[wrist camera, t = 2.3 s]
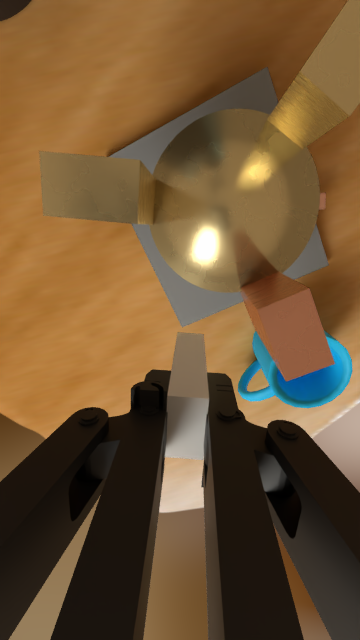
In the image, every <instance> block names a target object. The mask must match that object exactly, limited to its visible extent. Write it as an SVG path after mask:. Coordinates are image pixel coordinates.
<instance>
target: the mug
mask: <svg viewBox="0 0 360 640" xmlns="http://www.w3.org/2000/svg"><path fill="white" fill-rule="evenodd" d="M324 333H325V336H326V339H327V342H328V345H329V348H330V351H331V353H332V356H333V359H334V362H335V364H333V365H330V366H328V367H325V368H322V369H319V370H317V371H314V372H311V373H308V374H306V375H303V376H300V377H297V378H295V379H292V380H289V381H285V379H284V378H283V376H282V374H281V372H280V371H279V369H278V367H277V366H276V364H275V362H274V361H273V359H272V357H271V356H270V354H269V352H268V350H267V349H266V347H265V345H264V344H263V342H262V340H261V339H260V337H259V335H258V334H257V332H256V331H255V333H254V337H253V343H252V344H253V350H254V354H255V356H256V358H257V360H256V361H254V362H253V363H252V364H251V365H250V366H249V367H248V368H247V369H246V371H245V372H244V374H243V375H242V376H241V379H240V381H239V383H238V392H239V394H240V395H241V396H242V398H243V399H246V400H249V401H261V400H264V399H267V398H270V397H272V396H274V395H276V396H277V397H278V398H279V399H280V400H282V401H283V402H284V403H286V404H289V405H291V406H294V407H301V408H311V407H317V406H321V405H323V404H326V403H328V402H330V401H332V400H333V399H335V398H336V397H337V396H338V395H340V394H341V393H342V392H343V390H344V389H345V387H346V386H347V385H348V383H349V381H350V377H351V374H352V359H351V357H350V355H349V353H348V351H347V349H346V348H345V347H344V346H342V345H341V344H340V343H339V342H338V341H337V340H336V339H334V338H333V337H332V336H331V335H329V334H328V333H327V332H326V331H324ZM261 368H262V370H263V373H264V375H265V377H266V379H267V381H268V383H269V385H270V386H268V387H266V388H264V389H261V390H259V391H254V392H248V391H247V386H248V383H249V381H250V380H251V378H252V377H253V376H254V375H255V373H256V372H257V371H258V370H259V369H261Z"/></svg>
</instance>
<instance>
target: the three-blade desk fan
mask: <svg viewBox="0 0 360 640" xmlns="http://www.w3.org/2000/svg"><path fill="white" fill-rule="evenodd" d="M359 103H360V0H348V1H347V3H346V4H345V6H344V7H343V8H342V10H341V11H340V13H339V14H338V16H337V17H336V19H335V20H334V22H333V23H332V25H331V26H330V27H329V29H328V30H327V32H326V33H325V35H324V36H323V38H322V39H321V41H320V42H319V44H318V45H317V46H316V48H315V49H314V51H313V52H312V54H311V55H310V57H309V58H308V60H307V61H306V63H305V64H304V65H303V67H302V68H301V70H300V71H299V73H298V74H297V76H296V77H295V79H294V80H293V82H292V83H291V85H290V86H289V88H288V89H287V91H286V92H285V93H284V95H283V96H282V98H281V99H280V101H279V102H278V104H277V105H276V107H275V108H274V110H273V111H272V113H271V114H270V115H269V114H266V113H263V112H260V111H257V110H251V109H227V110H220V111H217V112H214V113H211V114H208V115H206V116H204V117H201V118H199V119H197V120H196V121H194V122H193V123H191V124H190V125H188V126H186V127H185V128H184V129H183V130H182V131H181V132H180V133H178V134H177V135H176V136H175V138H174V139H173V140H172V141H171V142H170V143H169V144H168V146H167V147H166V149H165V150H164V152H163V153H162V155H161V156H160V158H159V160H158V162H157V164H156V166H155V169H154V172H153V175H152V174H151V173H150V172H149V170H148V169H147V168H146V167H145V165H144V164H143V163H142V162H141V160H136V159H125V158H113V157H102V156H90V155H79V154H67V153H56V152H44V151H39V154H40V170H41V186H42V202H43V216H54V217H65V218H76V219H87V220H98V221H109V222H120V223H131V224H149V227H150V230H151V234H152V237H153V240H154V242H155V245H156V247H157V249H158V251H159V252H160V254H161V256H162V257H163V259H164V260H165V261H166V263H167V264H168V265H169V266H170V267H171V268H172V269H173V270H174V271H175V272H176V273H177V274H178V275H179V276H181V277H182V278H183V279H185V280H186V281H188V282H190V283H191V284H193V285H196V286H198V287H200V288H203V289H206V290H210V291H215V292H224V293H233V292H240V294H241V296H242V298H243V301H244V303H245V306H246V308H247V311H248V313H249V315H250V318H251V320H252V323H253V325H254V328H255V330H256V332H257V334H258V335H259V337H260V339H261V340H262V342H263V344H264V345H265V347H266V349H267V350H268V352H269V354H270V356H271V357H272V359H273V361H274V362H275V364H276V366H277V367H278V369H279V371H280V372H281V374H282V376H283V378H284V379H285V381H289V380H292V379H295V378H297V377H300V376H303V375H306V374H308V373H311V372H314V371H317V370H319V369H322V368H325V367H328V366H330V365H333V364H335V362H334V359H333V356H332V353H331V351H330V348H329V345H328V342H327V339H326V336H325V333H324V330H323V327H322V324H321V321H320V318H319V315H318V312H317V309H316V306H315V303H314V300H313V297H312V294H311V291H310V288H308V287H306V286H304V285H302V284H301V283H299V282H297V281H295V280H293V279H291V278H290V277H288V276H286V275H284V274H282V273H283V272H284V271H286V270H287V269H288V268H289V267H290V266H291V265H292V264H293V263H294V262H295V261H296V260H297V258H298V257H299V256H300V254H301V253H302V252H303V250H304V248H305V247H306V245H307V243H308V241H309V240H310V237H311V235H312V233H313V230H314V228H315V224H316V221H317V217H318V211H319V205H320V187H319V178H318V174H317V169H316V166H315V164H314V161H313V158H312V156H311V154H310V152H309V150H308V148H307V146H308V145H309V144H311V143H312V142H314V141H315V140H317V139H318V138H319V137H321V136H322V135H324V134H325V133H327V132H328V131H329V130H331V129H332V128H334V127H335V126H336V125H338V124H339V123H341V122H342V121H344V120H345V119H346V118H348V117H349V116H350V115H351V114H352V113H353V111H354V110H355V109H356V107H357V106H358V105H359Z"/></svg>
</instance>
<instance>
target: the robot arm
mask: <svg viewBox="0 0 360 640" xmlns="http://www.w3.org/2000/svg"><path fill="white" fill-rule="evenodd" d="M30 1H31V0H0V21H3V20H5V19H8V18H10V17H12V16H14V15H15V14H17V13H18V12H20V11H21V10H22V9H23V8H25V7H26V6H27V5H28V4H29V2H30ZM165 457H172V458H184V459H197V460H203V458H204V466H203V476H202V487H204V517H205V547H206V578H207V610H208V639H209V640H304V639H303V635H302V631H301V627H300V624H299V620H298V616H297V612H296V609H295V605H294V601H293V597H292V594H291V590H290V586H289V582H288V578H287V574H286V571H285V567H284V564H283V559H282V556H281V552H280V548H279V545H278V540H277V537H276V533H275V529H274V526H275V528H276V530H277V532H278V534H279V536H280V538H281V540H282V542H283V544H284V546H285V548H286V549H287V552H288V554H289V555H290V558H291V559H292V562H293V563H294V566H295V567H296V569H297V571H298V573H299V575H300V577H301V579H302V581H303V583H304V585H305V587H306V589H307V591H308V593H309V595H310V597H311V599H312V601H313V603H314V605H315V607H316V609H317V611H318V613H319V615H320V617H321V619H322V621H323V623H324V625H325V627H326V629H327V631H328V633H329V635H330V637H331V639H332V640H360V493H359V492H358V490H357V489H356V488H355V487H354V486H353V485H352V483H351V482H350V481H349V480H348V479H347V478H346V477H345V476H344V474H343V473H342V472H341V471H340V470H339V469H338V468H337V467H336V465H335V464H334V463H333V462H332V461H331V460H330V459H329V458H328V456H327V455H326V454H325V453H324V452H323V451H322V450H321V448H320V447H319V446H318V445H317V444H316V443H315V442H314V441H313V439H312V438H311V437H310V436H309V435H308V434H307V433H306V432H305V430H303V429H302V428H301V427H300V426H298V425H296V424H294V423H292V422H289V421H285V420H275V421H272V422H270V423H269V424H268V427H267V428H264V427H261V426H257V425H254V424H252V423H250V422H248V421H246V419H245V416H244V414H243V413H242V412H241V411H240V410H239V409H238V406H237V402H236V398H235V394H234V390H233V386H232V381H231V379H230V378H229V377H228V376H227V375H226V374H222V373H207V368H206V357H205V345H204V334H194V333H179V332H178V333H177V339H176V345H175V352H174V358H173V364H172V370H171V371H167V370H151V371H150V372H149V373H148V374H146V377H145V380H144V381H143V382H139V383H137V384H135V385H134V386H133V387H132V388H131V410H130V412H129V413H127V414H124V415H120V416H115V417H108V413H107V412H106V411H105V410H103V409H101V408H96V407H90V408H84V409H81V410H79V411H77V412H75V413H74V414H73V415H71V416H70V417H69V418H68V419H67V420H66V421H65V422H64V423H63V424H62V425H61V426H60V427H59V428H58V429H56V430H55V431H54V432H53V433H52V434H51V435H50V436H49V437H48V438H47V439H46V440H45V441H44V442H43V443H41V444H40V445H39V446H38V447H37V448H36V449H35V450H34V451H33V452H32V453H31V454H30V455H29V456H28V457H26V458H25V459H24V460H23V461H22V462H21V463H20V464H19V465H18V466H17V467H16V468H15V469H14V470H12V471H11V472H10V473H9V474H8V475H7V476H6V477H5V478H4V479H3V480H2V481H1V482H0V640H8V639H9V638H10V636H11V635H12V633H13V632H14V630H15V629H16V627H17V625H18V624H19V622H20V621H21V619H22V617H23V616H24V614H25V613H26V611H27V610H28V608H29V607H30V605H31V603H32V602H33V600H34V598H35V597H36V595H37V594H38V592H39V591H40V589H41V588H42V586H43V584H44V583H45V581H46V580H47V578H48V577H49V575H50V573H51V572H52V570H53V568H54V567H55V566H56V564H57V562H58V561H59V559H60V558H61V556H62V554H63V553H64V551H65V550H66V548H67V547H68V545H69V544H70V542H71V540H72V539H73V537H74V536H75V534H76V532H77V531H78V529H79V528H80V526H81V525H82V523H83V522H84V520H85V518H86V517H87V515H88V514H89V512H90V511H91V509H92V507H93V506H94V504H95V503H96V501H97V500H98V498H99V496H100V495H101V496H100V499H99V502H98V504H97V507H96V510H95V513H94V516H93V519H92V522H91V524H90V527H89V530H88V533H87V536H86V539H85V542H84V545H83V547H82V550H81V553H80V556H79V559H78V562H77V565H76V568H75V570H74V573H73V576H72V579H71V582H70V585H69V588H68V590H67V593H66V596H65V599H64V602H63V605H62V608H61V611H60V613H59V616H58V619H57V622H56V625H55V628H54V631H53V634H52V636H51V640H143V636H144V628H145V620H146V612H147V603H148V595H149V587H150V579H151V571H152V563H153V555H154V546H155V538H156V530H157V522H158V514H159V506H160V498H161V490H162V482H163V473H164V460H165ZM273 524H274V525H273Z"/></svg>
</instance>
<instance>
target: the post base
mask: <svg viewBox="0 0 360 640" xmlns="http://www.w3.org/2000/svg"><path fill="white" fill-rule="evenodd" d="M277 104H278V99H277V96H276V93H275V90H274V87H273V83H272V80H271V77H270V74H269V70H268V67H266V68H264V69H262V70H261V71H259V72H257V73H255V74H254V75H252V76H250V77H248V78H247V79H245V80H243V81H241V82H239V83H238V84H236V85H234V86H232V87H231V88H229V89H227V90H225V91H224V92H222V93H220V94H218V95H217V96H215V97H213V98H211V99H209V100H208V101H206V102H204V103H202V104H201V105H199V106H197V107H195V108H194V109H192V110H190V111H188V112H187V113H185V114H183V115H181V116H180V117H178V118H176V119H174V120H172V121H171V122H169V123H167V124H165V125H164V126H162V127H160V128H158V129H157V130H155V131H153V132H151V133H150V134H148V135H146V136H144V137H142V138H141V139H139V140H137V141H135V142H134V143H132V144H130V145H128V146H127V147H125V148H123V149H121V150H120V151H118V152H116V153H114V154H113V155H111V156H109V157H113V158H125V159H136V160H141V162H142V163H143V164H144V165H145V167H146V168H147V169H148V170H149V172H150V173H151V174H152V175H153V172H154V169H155V166H156V164H157V162H158V160H159V158H160V156H161V155H162V153H163V152H164V150H165V149H166V147H167V146H168V144H169V143H170V142H171V141H172V140H173V139H174V138H175V136H176V135H177V134H178V133H180V132H181V131H182V130H183V129H184V128H185V127H186V126H188V125H190V124H191V123H193V122H194V121H196V120H197V119H199V118H201V117H204V116H206V115H208V114H211V113H214V112H217V111H220V110H227V109H251V110H257V111H260V112H263V113H266V114H269V115H270V114H271V113H272V111H273V110H274V108H275V107H276V105H277ZM325 203H326V192H325V193H320V205H319V210H322V209H325ZM132 226H133V228H134V230H135V232H136V234H137V236H138V238H139V240H140V242H141V244H142V246H143V248H144V250H145V253H146V255H147V257H148V259H149V261H150V263H151V265H152V267H153V269H154V271H155V273H156V275H157V277H158V279H159V281H160V283H161V285H162V287H163V289H164V291H165V293H166V295H167V297H168V299H169V301H170V303H171V306H172V308H173V310H174V312H175V314H176V316H177V318H178V320H179V322H180V324H181V326H182V327H184V326H186V325H189V324H191V323H193V322H196V321H198V320H201V319H203V318H205V317H208V316H210V315H212V314H215V313H217V312H219V311H222V310H224V309H226V308H229V307H231V306H233V305H236V304H238V303H241V302H243V298H242V296H241V294H240V292H233V293H224V292H215V291H210V290H206V289H203V288H200V287H198V286H196V285H193V284H191V283H190V282H188V281H186V280H185V279H183V278H182V277H181V276H179V275H178V274H177V273H176V272H175V271H174V270H173V269H172V268H171V267H170V266H169V265H168V264H167V263H166V261H165V260H164V259H163V257H162V256H161V254H160V252H159V251H158V249H157V247H156V245H155V242H154V240H153V237H152V234H151V230H150V227H149V224H132ZM328 265H329V264H328V261H327V257H326V254H325V251H324V248H323V245H322V241H321V238H320V235H319V232H318V228H317V225H316V224H315V228H314V230H313V233H312V235H311V237H310V240H309V241H308V243H307V245H306V247H305V248H304V250H303V252H302V253H301V254H300V256H299V257H298V258H297V260H296V261H295V262H294V263H293V264H292V265H291V266H290V267H289V268H288V269H287V270H286V271H284V272H283V273H282V274H284V275H286V276H288V277H290V278H291V279H293V280H295V279H297V278H299V277H302V276H304V275H306V274H309V273H311V272H313V271H316V270H318V269H321V268H323V267H325V266H328Z"/></svg>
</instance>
